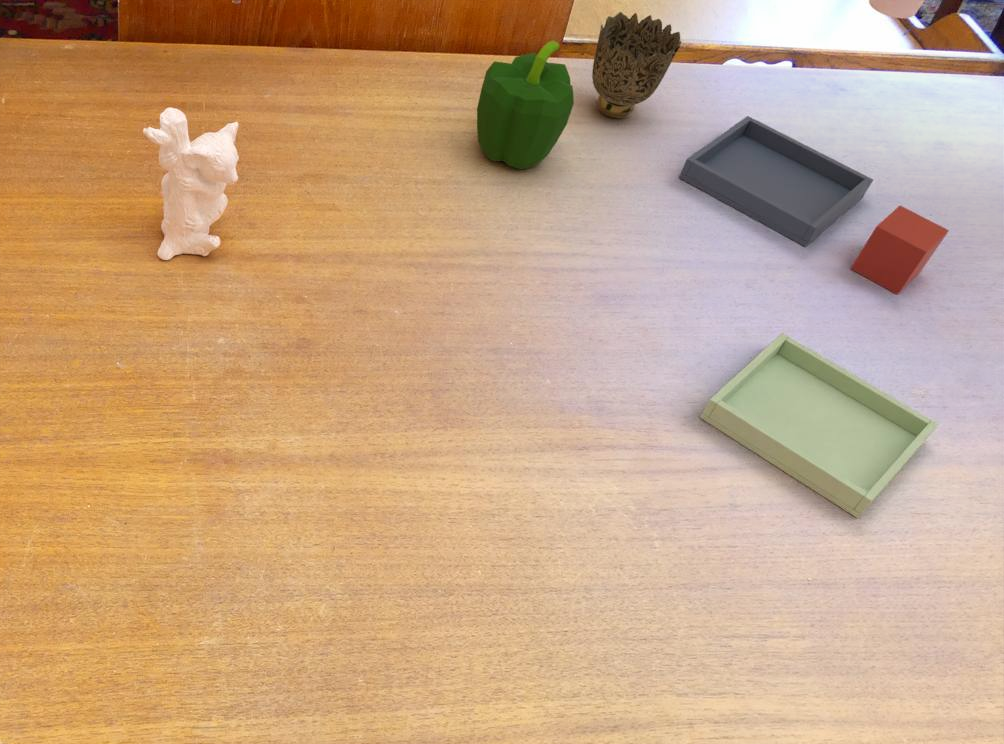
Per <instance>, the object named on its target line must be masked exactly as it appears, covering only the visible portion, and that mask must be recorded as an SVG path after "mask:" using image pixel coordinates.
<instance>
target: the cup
mask: <svg viewBox="0 0 1004 744" xmlns="http://www.w3.org/2000/svg"><path fill="white" fill-rule="evenodd" d="M672 28H673V27H672V24H667V25H666V26H664V28H663V22H662V20H661V19H660V18H657V19H653V17H652V15H651V14H650V15H647V16H646V17H645V18H643V19H641V20H640V21H639V17H638V14H637V12H635V13H633V14H632V15H631V17H630V18H629V17H628V16H627V15H626V14H624V13H623V12H622V11H619V12H617V13H616V14H615V15H614V16H613V17H612V16H610V15H609V16H607V18H606V19H605V23H604V26H603V24H601V25H600V29H599V35H598V39H597V44H596V49H595V54H594V58H593V64H592V73H591V74H592V75H591V76H592V83H593V86H594V89H595V91H596V92H597V94H598V96H597V99H596V105H597V108H598V110H599V112H600V113H602V114H603V115H605V116H607V117H609V118H612V119H623V118H626V117H629V116H630V115H631V114H632V113H633V112H634V110H635V109H636V105H638V104H641V103H643V102H645V101H646V100H648V99H649V98H650V97H652V95H654V93H655V92H656V90H657V89H658V88H659V86H660V84H661V82H662V81H663V79H664V77H665V75H666V73H667V72H668V69H669V67H670V66H671V64H672V62H673V60H674V58H675V57H676V55H677V52H678V51H679V49H680V47H681V45H682V40H681V32H680V31H676V32H672Z"/></svg>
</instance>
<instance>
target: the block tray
mask: <svg viewBox="0 0 1004 744" xmlns="http://www.w3.org/2000/svg"><path fill="white" fill-rule="evenodd" d="M678 178H679V179H681V180H682V181H684V182H686V183H687V184H689V185H692V186H693V187H695V188H697V189H699V190H701V191H702V192H704V193H706V194H708V195H710V196H711V197H714V198H715V199H717V200H719V201H721V202H723V203H724V204H726V205H728V206H730V207H732V208H733V209H735V210H737V211H739V212H741V213H743V214H744V215H746V216H748V217H750V218H752V219H753V220H755V221H757V222H759V223H761V224H763V225H764V226H767V227H768V228H770V229H772V230H774V231H775V232H777V233H779V234H781V235H783V236H785V237H787V238H789V239H790V240H792V241H794V242H796V243H797V244H799V245H802V246H803V247H805V248H806V247H807V246H809V245H810V244H811V243H812V242H813V241H815V240H816V239H817V238H818V237H819V236H820V235H821V234H823V232H825V231H826V230H827V229H828V228H829V227H831V226H832V225H833V224H834V223H835V222H836V221H838V220H839V219H840V218H841V217H842V216H843V215H844V214H846V213H847V212H848V211H849V210H851V208H853V207H854V206H855V205H856V204H858V202H860V201H861V200H862V199H863V198H864V196H865V195H866V193H867V191H868V189H869V188H870V186H871V184H872V183H873V181H874V179H873V178H871V177H869V176H867V175H865V174H863V173H861V172H859V171H857V170H856V169H854V168H851V167H849V165H846V164H844V163H842V162H841V161H840V162H839V160H835V158H832V157H831V156H828V155H826V154H824V153H822V152H820V151H818V150H816V149H814V148H812V147H810V146H809V145H806V144H804V143H802V142H801V141H799V140H796V139H795V138H792V137H791V136H789V135H786V134H785V133H782V132H781V131H778V130H777V129H775V128H773V127H771V126H768V125H767V124H765V123H763V122H761V121H759V120H757V119H755V118H753V117H751V116H749V115H747V116H745V117H744V118H742V119H741V120H740V121H737V123H736V124H734V125H733V126H731V127H730V128H728V129H727V130H726V131H724V132H723V133H721V134H720V135H719V136H717V137H716V138H714V139H713V140H711V141H710V142H709V143H707V144H706V145H704V146H703V147H702V148H700V149H698V150H697V151H696V152H694V153H693V154H692V155H690V156H689V157H688V158H686V160H685V162H684V165H683V167H682V169H681V171H680V174H679V176H678Z"/></svg>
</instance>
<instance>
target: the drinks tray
mask: <svg viewBox="0 0 1004 744" xmlns="http://www.w3.org/2000/svg"><path fill="white" fill-rule="evenodd" d="M699 419H701V420H702V421H704V422H705V423H707V424H709V425H710V426H712V427H713V428H715V429H717V430H718V431H720V432H721V433H723V434H724V435H726V436H728V437H729V438H731V439H732V440H734V441H735V442H737V443H739V444H740V445H742V446H744V447H745V448H747V449H748V450H749V451H751V452H752V453H755V454H756V455H758V456H760V457H761V458H762V459H764V460H765V461H767V462H768V463H770V464H772V465H773V466H775V467H777V468H778V469H780V470H781V471H782V472H784V473H786V474H787V475H789V476H791V477H792V478H794V479H795V480H797V481H798V482H800V483H801V484H803V485H804V486H806V487H808V488H809V489H811V490H812V491H814V492H815V493H817V494H819V495H820V496H822V497H823V498H825V499H826V500H828V501H830V502H831V503H833V504H834V505H836V506H837V507H839V508H840V509H842V510H844V511H845V512H847V513H849V514H850V515H852V516H853V517H855V518H856V519H859V518H860V516H862V515H863V513H864V512H865V511H866V510H867V509H868V508H869V506H870V505H871V504H872V503H873V502H874V500H876V499H877V497H879V495H880V494H881V493H882V491H884V489H885V488H886V487H887V486H888V485H889V484H890V482H892V480H893V479H894V478H895V476H896V475H897V474H898V473H899V472H900V471H901V469H902V468H904V466H905V465H906V464H907V463H908V461H909V460H910V459H911V458H912V457H913V456H914V455H915V454H916V453H917V451H918V450H919V449H921V446H922V445H923V444H924V443H925V442H926V441H927V440H928V438H929V437H930V436H931V435H932V433H933V432H934V431H935V430H936V429H937V427H938V426H939V424H938V422H936V421H934V420H932V419H931V418H929V417H927V416H925V415H924V414H922V413H920V412H918V411H917V410H915V409H914V408H912V407H910V406H908V405H907V404H905V403H903V402H901V401H900V400H898V399H896V398H895V397H893V396H891V395H889V394H887V393H886V392H884V391H883V390H881V389H880V388H878V387H876V386H874V385H873V384H871V383H870V382H867V381H866V380H865V379H862V378H860V377H859V376H857V375H856V374H854V373H853V372H850V371H848V370H847V369H845V368H843V367H841V366H840V365H839V364H836V363H835V362H833V361H831V360H830V359H828V358H826V357H825V356H823V355H822V354H819V353H818V352H816V351H814V350H812V349H811V348H810V347H807V346H806V345H804V344H803V343H800V342H799V341H797V340H795V339H794V338H792V337H790V336H789V335H787V334H786V333H784V332H782V333H780V335H778V336H777V337H776V338H775V339H774V340H773V341H772V342H771V343H770V344H768V346H766V347H765V348H764V349H763V350H762V351H761V352H759V354H758V355H756V356H755V357H754V358H753V359H752V360H751V361H750V362H748V364H747V365H746V366H745V367H743V368H742V369H741V370H740V371H739V372H738V373H736V375H734V377H733V378H732V379H730V380H729V381H728V382H727V383H725V385H723V386H722V388H720V389H719V390H718V391H717V392H716V393H715V394H714V395H713V396H711V397H710V399H709V400H708V402H707V404H706V405H705V407H704V409H703V411H702V412H701V414H700V416H699Z"/></svg>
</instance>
